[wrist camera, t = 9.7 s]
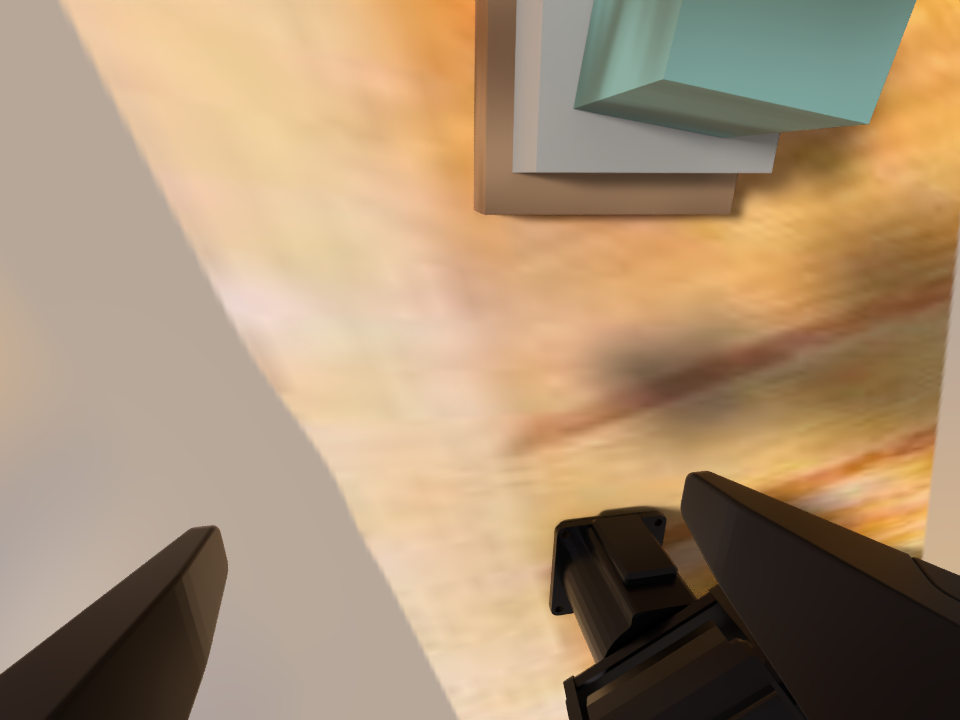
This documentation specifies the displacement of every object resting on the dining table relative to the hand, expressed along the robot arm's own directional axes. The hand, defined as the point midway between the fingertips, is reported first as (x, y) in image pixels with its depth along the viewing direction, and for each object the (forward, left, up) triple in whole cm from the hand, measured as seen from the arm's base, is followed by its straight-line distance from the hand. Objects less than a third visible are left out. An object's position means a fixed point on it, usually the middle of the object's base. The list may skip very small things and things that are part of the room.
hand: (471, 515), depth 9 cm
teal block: (+10, -7, -8) cm, 14 cm away
